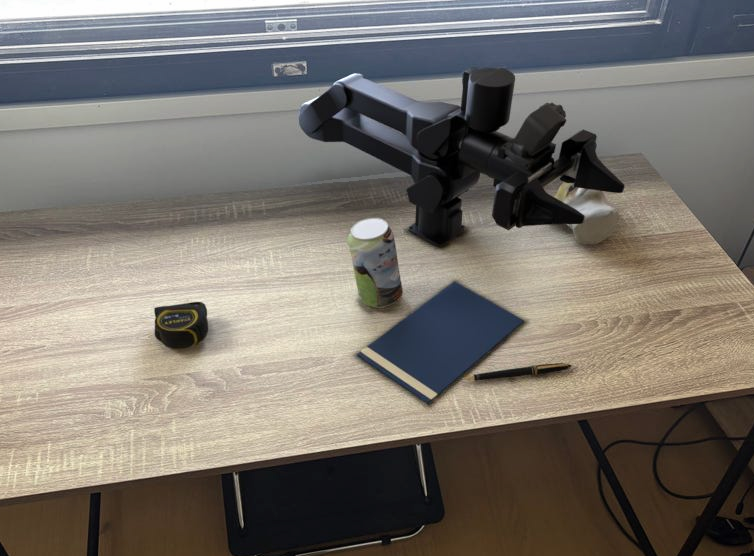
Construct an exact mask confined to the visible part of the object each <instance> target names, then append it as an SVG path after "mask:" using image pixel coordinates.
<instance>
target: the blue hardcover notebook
mask: <svg viewBox="0 0 754 556" xmlns="http://www.w3.org/2000/svg"><path fill="white" fill-rule="evenodd" d="M524 323H525V320H524V319H523V318H521V317H519V316H517V315H515V314H514V313H512V312H510V311H509V310H506V309H505V308H503V307H502V306H499V305H498V304H496V303H494V302H493V301H491V300H489V299H487V298H485V297H483V296H482V295H480V294H478V293H476V292H475V291H472V290H471V289H469V288H467V287H466V286H464V285H462V284H460V283H459V282H456V281H453V282H452V283H450V284H449V285H447V286H446V287H445V288H444V289H442V290H441V291H440V292H438V293H437V294H436V295H434V296H433V297H431V298H430V299H429V300H428V301H426V302H425V303H424V304H422V305H421V306H420V307H418V308H417V309H416V310H414V311H412V312H411V313H410V314H409V315H407V316H406V317H405V318H403V319H402V320H401V321H399V322H398V323H397V324H395V325H393V327H391V328H390V329H389V330H387V331H386V332H385V333H383V334H382V335H380V336H379V337H377V339H375V340H374V341H373V342H371V343H370V344H369V345H367V346H365V347H364V348H363V349H361V350H359V352H358V353H356V356H357V357H358V358H359V359H361V360H362V361H364V363H367V364H368V365H369V366H371V367H372V368H374V369H375V370H377V371H378V372H379V373H381V374H383V375H384V376H385V377H387V379H389V380H391V381H392V382H394V383H396V384H397V385H399V386H400V387H402V388H403V389H404V390H406V391H408V392H409V393H410V394H411V395H413V396H415V397H416V398H417V399H419V400H421V401H422V402H424V404H426V405H429V404H430V403H432V402H433V401H434V400H435V399H436V398H438V396H440V395H441V394H442V393H444V391H446V390H447V389H448V388H449V387H450V386H452V385H453V384H454V383H455V382H456V381H458V380H459V378H461V377H462V376H464V374H466V373H467V372H468V371H469V370H470V369H472V368H473V366H475V365H476V364H477V363H479V362H480V361H481V360H482V359H483V358H484V357H485V356H487V354H489V353H490V352H491V351H492V350H494V349H495V348H496V347H497V346H498V345H499V344H500V343H502V342H503V341H505V339H506V338H508V337H509V336H510V335H511V334H512V333H514V331H516V330H517V329H518V328H519V327H520V326H522V325H523V324H524Z"/></svg>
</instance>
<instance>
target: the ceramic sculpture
mask: <svg viewBox="0 0 754 556" xmlns="http://www.w3.org/2000/svg"><path fill="white" fill-rule="evenodd" d="M552 196H553V197H555V198H556V199H558V200H560V201H562V202H564V203H565V204H567V205H569V206H571V207H573V208H574V209H576V210H578V211H579V212H580V213H582V214H583V215H584V216H585V218H584V222H583V223H582V224H565V225H566V226H567V227H568V228H569V229H571V230H572V231H573V235H574V237H575V239H576V241H577V242H578V243H579V244H582V245H597V244H599V243H601V242H602V241H604V240H605V239H608V238H609V237H610V236H611V235H612V234H613V233H614V231H615V230H616V228H617V225H618V222H619V220H620V215H619V211H618V209H617V208H616V207H613V206H611V205H609V202H608V200H607V197H606V196H605V194H604V191H598V190H591V189H584V188H577V187H574V183H566V182H563V183H561V184H560V186H559V188H558V190H557V192H556V194H555V195H552Z"/></svg>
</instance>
